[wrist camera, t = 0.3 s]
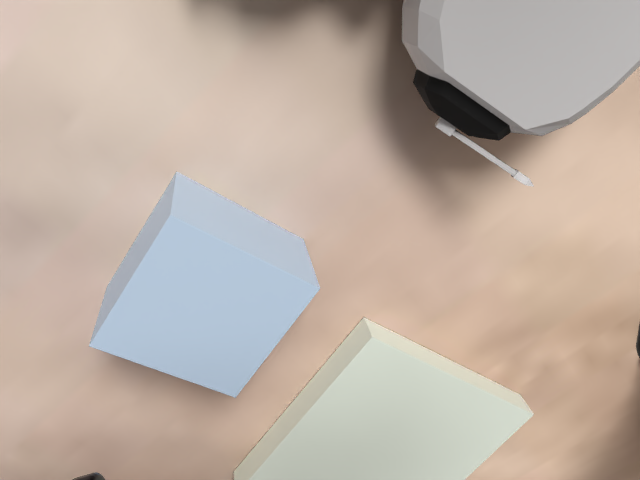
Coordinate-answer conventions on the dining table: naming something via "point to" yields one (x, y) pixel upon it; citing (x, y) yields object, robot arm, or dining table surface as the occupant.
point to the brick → (205, 290)
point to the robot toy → (518, 62)
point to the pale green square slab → (387, 417)
